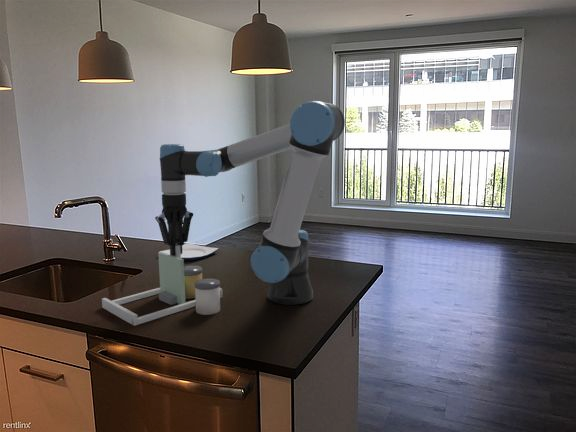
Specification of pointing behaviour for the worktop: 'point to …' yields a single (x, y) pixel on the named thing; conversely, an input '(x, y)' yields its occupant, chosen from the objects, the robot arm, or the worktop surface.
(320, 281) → the worktop surface
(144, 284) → the worktop surface
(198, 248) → the plate
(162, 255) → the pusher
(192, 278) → the amber jar
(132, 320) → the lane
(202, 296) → the cream jar
